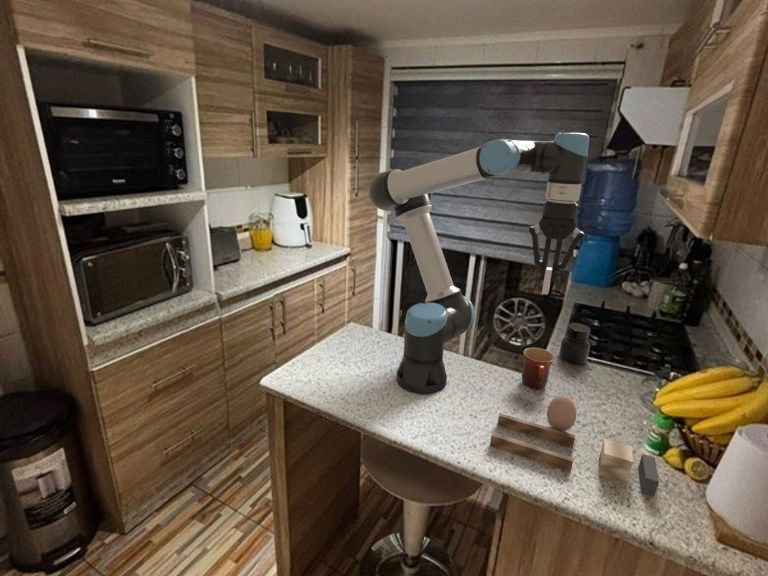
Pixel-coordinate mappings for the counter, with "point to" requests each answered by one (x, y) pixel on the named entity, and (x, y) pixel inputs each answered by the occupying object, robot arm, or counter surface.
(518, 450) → the chute
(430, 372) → the robot arm
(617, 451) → the block
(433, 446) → the counter surface
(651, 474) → the block
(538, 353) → the mug
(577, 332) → the ink bottle
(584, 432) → the counter surface
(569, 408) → the egg
